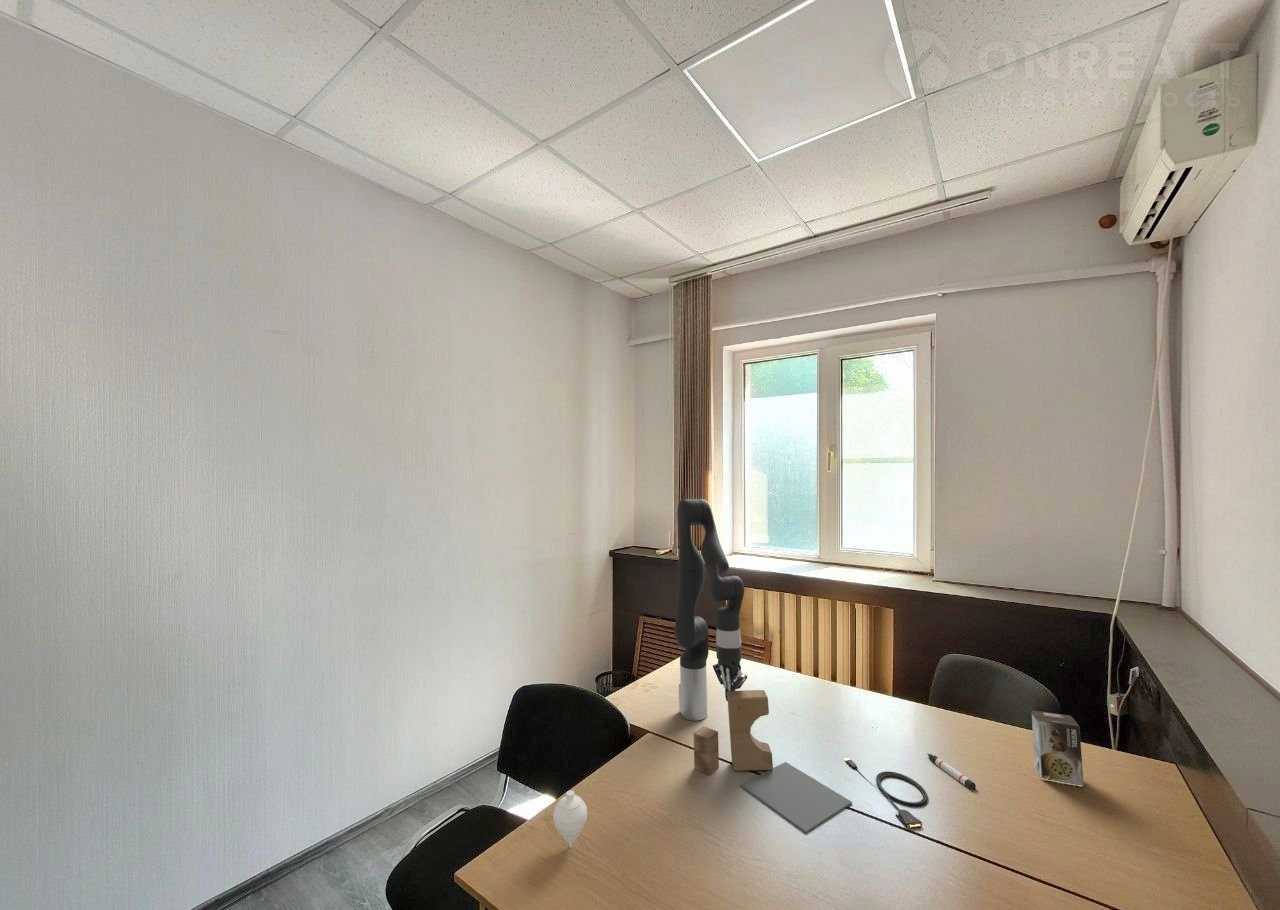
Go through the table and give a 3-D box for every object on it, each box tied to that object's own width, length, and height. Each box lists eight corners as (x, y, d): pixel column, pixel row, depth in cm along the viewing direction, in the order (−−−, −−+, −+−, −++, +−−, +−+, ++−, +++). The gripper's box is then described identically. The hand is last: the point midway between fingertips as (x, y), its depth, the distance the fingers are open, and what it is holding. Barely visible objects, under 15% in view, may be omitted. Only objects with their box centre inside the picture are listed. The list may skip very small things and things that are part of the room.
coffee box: (1075, 775, 133) (1071, 715, 134) (1084, 789, 127) (1081, 726, 128) (1033, 767, 137) (1030, 709, 138) (1040, 780, 131) (1037, 719, 132)
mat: (740, 786, 131) (740, 784, 131) (785, 763, 141) (785, 761, 141) (805, 833, 113) (805, 831, 113) (851, 803, 123) (851, 801, 123)
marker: (976, 789, 128) (975, 782, 128) (969, 790, 128) (969, 783, 128) (930, 757, 143) (930, 750, 143) (924, 758, 143) (924, 751, 143)
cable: (887, 758, 143) (887, 753, 143) (960, 826, 115) (960, 820, 115) (843, 762, 142) (843, 756, 142) (907, 832, 114) (907, 825, 114)
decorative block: (770, 759, 142) (764, 689, 143) (773, 771, 136) (768, 697, 137) (731, 760, 143) (726, 690, 144) (733, 771, 137) (728, 698, 138)
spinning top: (558, 864, 105) (557, 807, 106) (550, 840, 112) (549, 787, 113) (592, 853, 108) (591, 797, 109) (582, 830, 115) (581, 778, 116)
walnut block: (694, 768, 139) (693, 732, 139) (704, 760, 143) (703, 725, 143) (709, 775, 136) (708, 738, 136) (718, 767, 139) (718, 731, 140)
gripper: (704, 639, 151) (706, 696, 151) (735, 651, 140) (737, 713, 140) (722, 635, 156) (724, 690, 155) (753, 646, 145) (755, 706, 144)
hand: (730, 701), depth 147 cm, fingers closed
